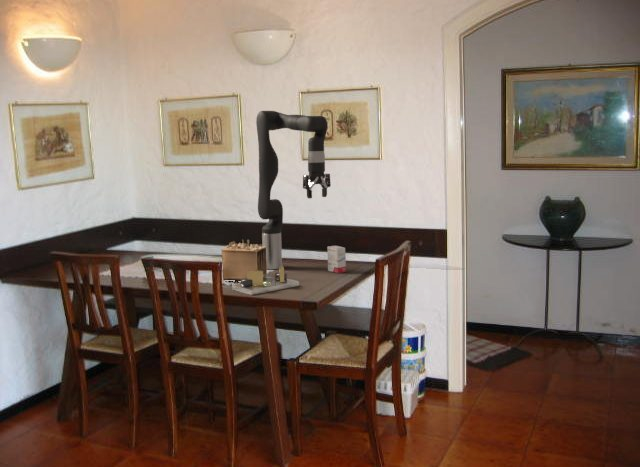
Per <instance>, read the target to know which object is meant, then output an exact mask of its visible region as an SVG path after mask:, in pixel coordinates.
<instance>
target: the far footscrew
mask: <svg viewBox="0 0 640 467" xmlns="http://www.w3.org/2000/svg"><path fill="white" fill-rule="evenodd" d="M274 277H275V280H280V282H284V280H286V279H288V272H285V268H284V265H282V266H279V269H278V272H275V273H274Z"/></svg>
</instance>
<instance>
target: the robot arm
mask: <svg viewBox="0 0 640 467" xmlns="http://www.w3.org/2000/svg"><path fill="white" fill-rule="evenodd" d="M255 119H256V131H257V132H256V133H257V141H258V174H259V176H258V180H259V181H258V200H257V212H258V213H257V214H258V216H259V217H260V219H261V220H268V222H267V223H265V225H263V226H262V228H261V240H262V244H261V245H262V246H266V258H267V270H279V266H283V262H282V261H283V257H282V256H283V255H282V245H283V244H282V228H283V220H284V219H283V218H284V208H283V204H282V202H281V201H280V200H279V199H276V198H273V199H271V192H272V187H273V185H274V184H275V181H276V179H277V177H278V173H279V158H278V154H277V153H276V151H275V149H274V147H273V145H272V143H271V138H270V131H278V130H281V129H289V130H292V131H299V132H301V131H302V132H307V133H314V135H313V137H310V138H308V142H307V143H308V144H307V145H308V148H307V150H308V152H307V171H308V175H307V174H303V176H302V189H304V190H306V198H307V199H312V198H313V190H312V188H313V187H314V186H315V185H320V186H321V197H322V198H326V197H327V195H328V188H331V187H332V186H331V174H330V173H325V172H326V156H325V154H326V153H325V140H326V135H327V131H328V121H327V119H326V117H325V116H322V115H304V114H285V113H283V112H279V111H276V110H260V111H259V112H258V113H257V116H256V118H255Z"/></svg>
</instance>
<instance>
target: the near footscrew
mask: <svg viewBox="0 0 640 467" xmlns="http://www.w3.org/2000/svg"><path fill="white" fill-rule="evenodd" d="M247 277H248V278H244V279H241V286H245V287H247V286H257V285H263V270H260V271H247Z"/></svg>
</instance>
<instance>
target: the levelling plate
mask: <svg viewBox="0 0 640 467" xmlns="http://www.w3.org/2000/svg"><path fill="white" fill-rule="evenodd" d="M299 286H300V281H299V280H295V279H291V278H287V279H286V280H284V282H280V280H275V276H274V277H272V278H268V279H264V276H263V285H257V286H247V287H245V286H241V283H236V284H232V285H231V290H232V291H236V292H240V293H242V294H246V295H250V296H253V295H260V294H264V293H270V292H274V291H279V290H284V289H289V288H295V287H299Z"/></svg>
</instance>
